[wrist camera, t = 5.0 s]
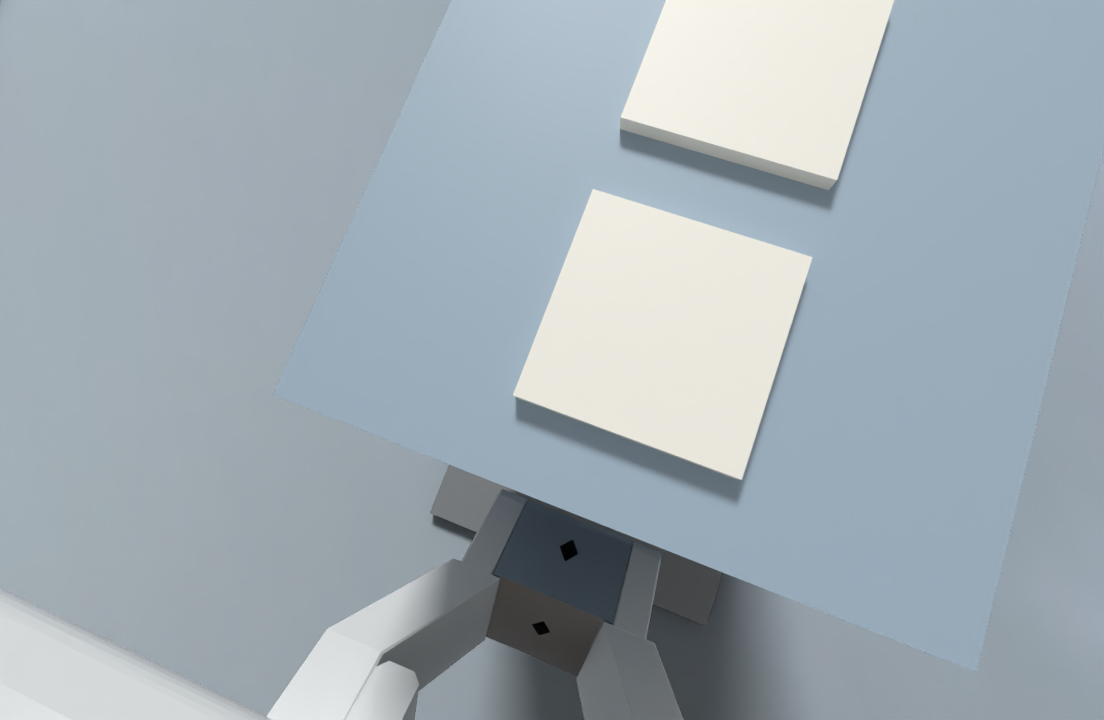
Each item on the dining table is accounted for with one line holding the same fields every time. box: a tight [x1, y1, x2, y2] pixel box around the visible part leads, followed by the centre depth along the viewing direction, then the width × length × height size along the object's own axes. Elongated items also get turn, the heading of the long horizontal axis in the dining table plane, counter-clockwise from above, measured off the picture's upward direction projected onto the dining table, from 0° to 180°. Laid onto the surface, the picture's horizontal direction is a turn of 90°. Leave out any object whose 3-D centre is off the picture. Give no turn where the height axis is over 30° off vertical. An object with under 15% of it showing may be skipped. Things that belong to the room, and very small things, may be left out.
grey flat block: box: [430, 465, 723, 626], centre depth 17 cm, size 14×8×1 cm, turn 159°
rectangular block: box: [273, 0, 1104, 672], centre depth 10 cm, size 5×5×12 cm
